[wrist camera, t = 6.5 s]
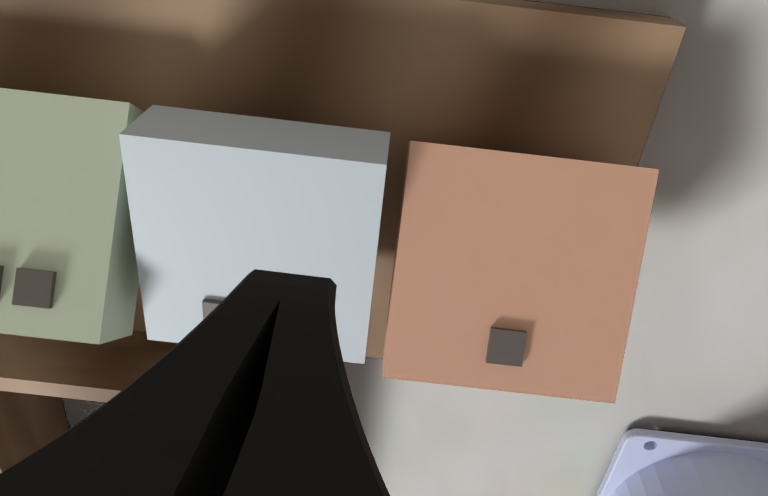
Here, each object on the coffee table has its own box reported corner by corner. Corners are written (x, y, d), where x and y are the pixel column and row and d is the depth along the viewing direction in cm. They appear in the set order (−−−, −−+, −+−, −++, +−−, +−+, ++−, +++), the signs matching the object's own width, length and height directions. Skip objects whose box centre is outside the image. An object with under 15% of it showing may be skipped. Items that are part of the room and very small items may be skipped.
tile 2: (390, 132, 15) (386, 167, 13) (369, 318, 18) (363, 367, 17) (152, 104, 15) (115, 136, 13) (173, 296, 18) (145, 343, 17)
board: (669, 17, 16) (735, 56, 13) (485, 568, 30) (492, 658, 26) (-85, -72, 16) (-222, -56, 13) (79, 524, 30) (35, 608, 26)
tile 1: (627, 166, 16) (662, 169, 14) (589, 374, 18) (617, 406, 15) (408, 140, 16) (410, 140, 14) (383, 351, 17) (382, 379, 15)
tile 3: (158, 121, 17) (127, 100, 15) (132, 334, 17) (95, 345, 15) (-55, 96, 17) (-119, 72, 15) (-84, 310, 17) (-152, 317, 15)
